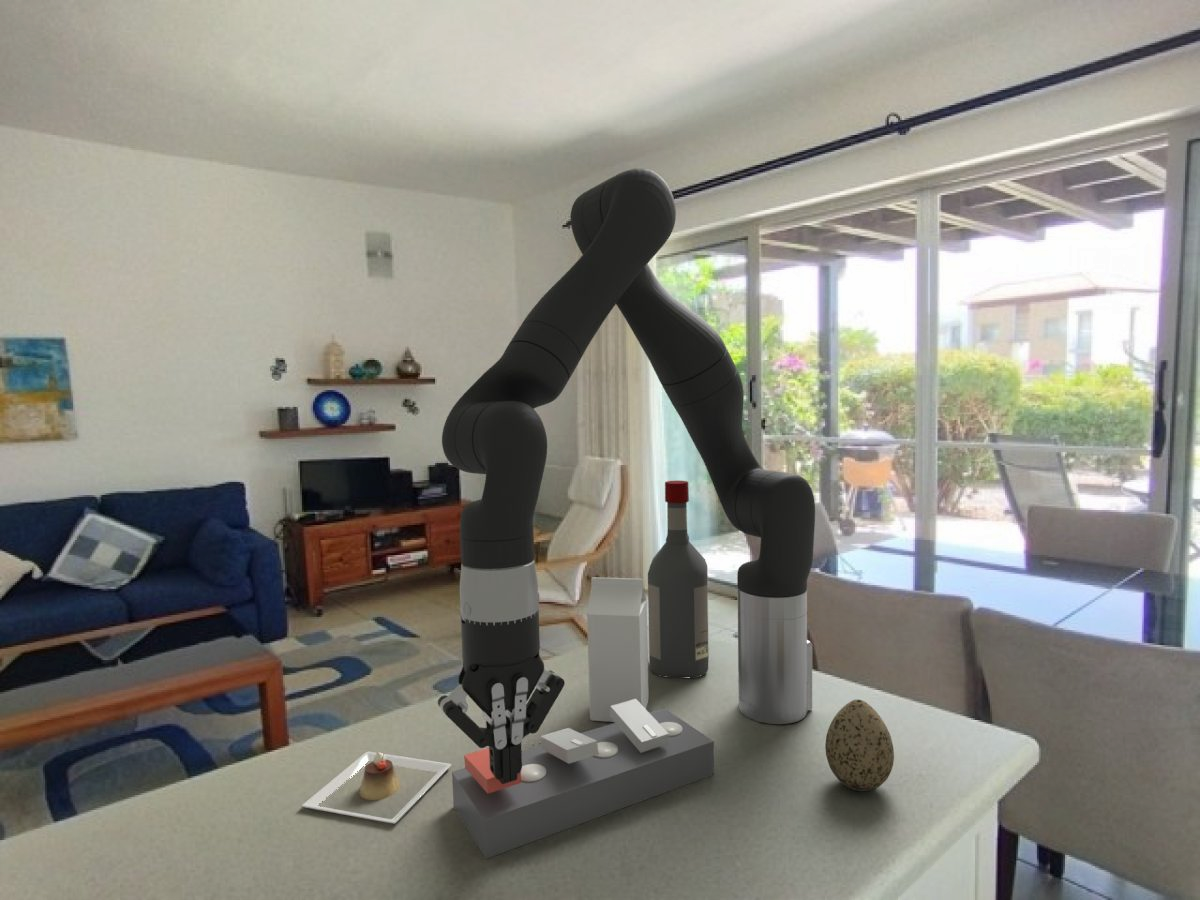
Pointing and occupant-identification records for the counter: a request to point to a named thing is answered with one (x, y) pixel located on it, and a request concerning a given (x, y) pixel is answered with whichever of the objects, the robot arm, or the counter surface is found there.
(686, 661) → the liquor
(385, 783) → the dessert
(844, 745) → the decorative egg
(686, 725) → the rocker switch box
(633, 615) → the milk carton
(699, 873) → the counter surface
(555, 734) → the middle rocker
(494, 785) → the red rocker
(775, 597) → the robot arm
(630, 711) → the far rocker
